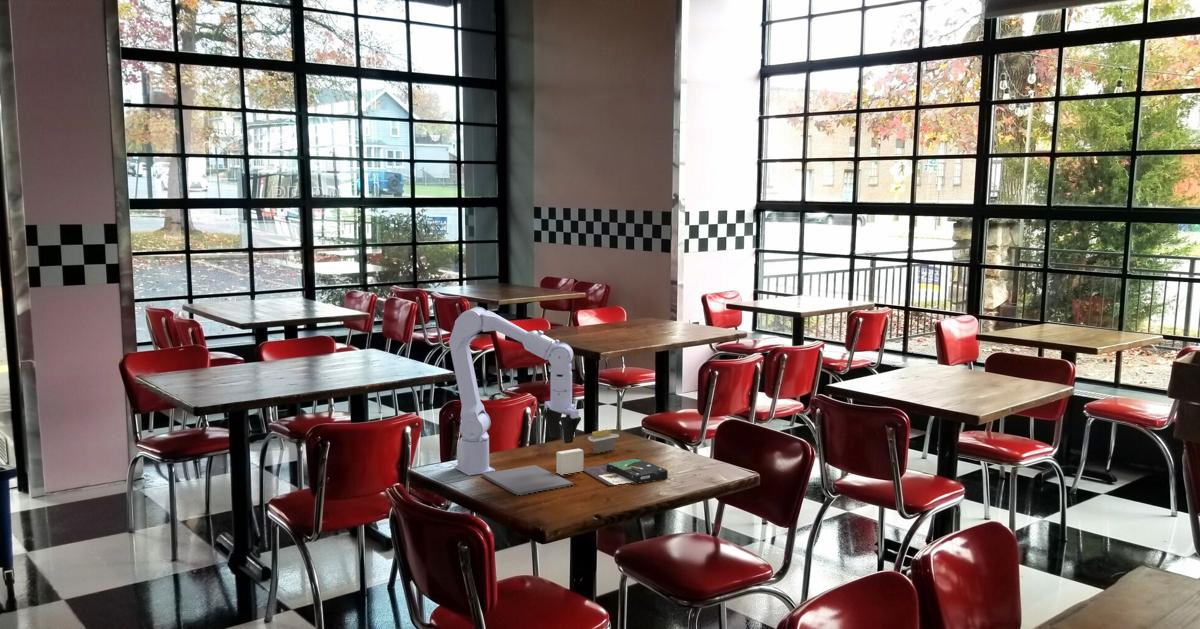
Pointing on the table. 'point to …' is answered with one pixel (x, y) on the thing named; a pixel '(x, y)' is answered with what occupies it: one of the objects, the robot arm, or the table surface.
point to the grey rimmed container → (603, 440)
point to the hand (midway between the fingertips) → (561, 439)
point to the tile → (569, 461)
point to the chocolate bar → (606, 475)
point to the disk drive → (637, 470)
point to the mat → (526, 479)
